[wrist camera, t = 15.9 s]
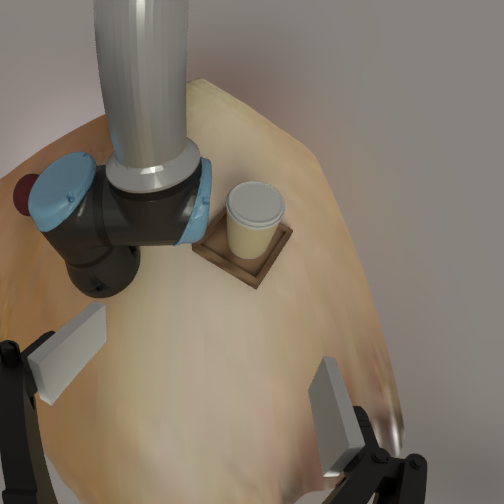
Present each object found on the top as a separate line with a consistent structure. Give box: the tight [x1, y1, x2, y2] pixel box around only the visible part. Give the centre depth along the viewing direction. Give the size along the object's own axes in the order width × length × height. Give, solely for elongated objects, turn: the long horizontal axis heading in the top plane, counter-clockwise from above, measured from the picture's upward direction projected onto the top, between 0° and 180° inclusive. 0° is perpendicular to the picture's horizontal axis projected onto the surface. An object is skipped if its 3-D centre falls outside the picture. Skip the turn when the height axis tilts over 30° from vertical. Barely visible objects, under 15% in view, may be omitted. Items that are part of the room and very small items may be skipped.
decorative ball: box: [13, 174, 40, 216], centre depth 47 cm, size 10×10×10 cm
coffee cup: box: [226, 181, 285, 259], centre depth 48 cm, size 9×9×12 cm
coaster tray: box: [192, 206, 293, 290], centre depth 53 cm, size 14×14×2 cm
